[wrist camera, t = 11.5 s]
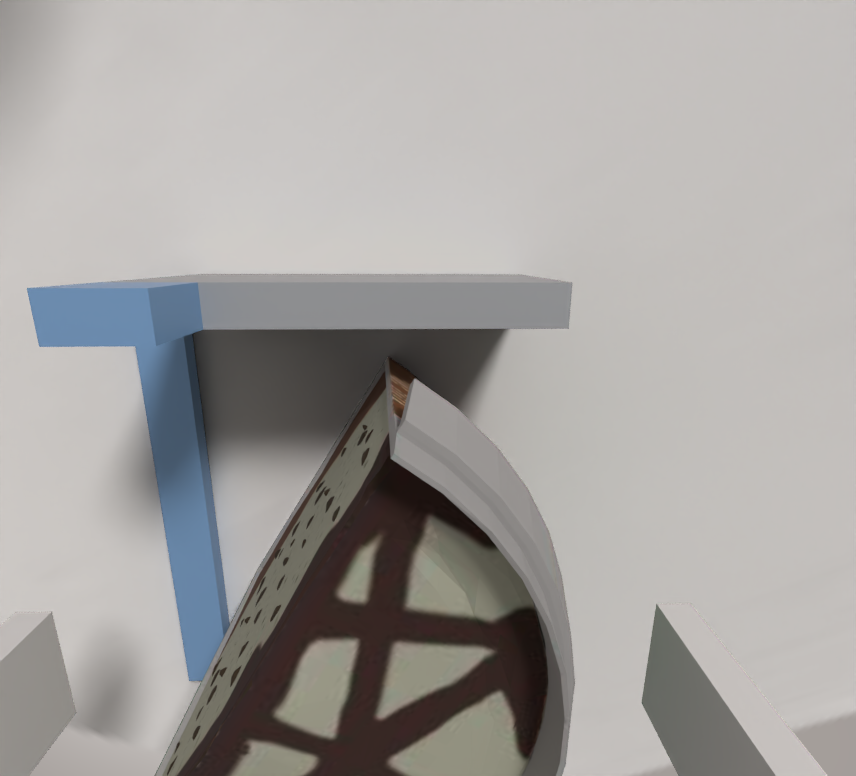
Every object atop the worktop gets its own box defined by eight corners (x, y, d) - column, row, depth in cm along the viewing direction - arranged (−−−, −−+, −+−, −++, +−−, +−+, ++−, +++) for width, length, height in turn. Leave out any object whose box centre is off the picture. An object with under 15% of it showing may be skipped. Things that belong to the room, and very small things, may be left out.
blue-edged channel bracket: (554, -380, 11) (772, -1341, 4) (499, 679, 19) (547, 904, 13) (30, -408, 11) (-605, -1517, 4) (199, 688, 19) (83, 925, 12)
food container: (381, 663, 19) (352, 1079, 9) (240, 597, 18) (44, 989, 8) (563, 412, 17) (779, 630, 7) (411, 317, 15) (415, 419, 6)
